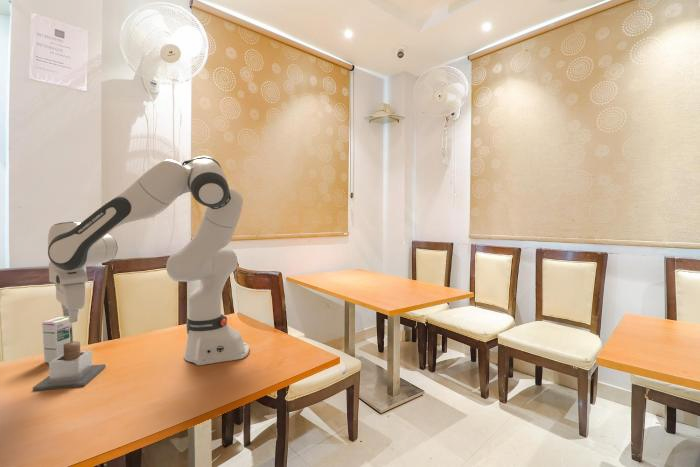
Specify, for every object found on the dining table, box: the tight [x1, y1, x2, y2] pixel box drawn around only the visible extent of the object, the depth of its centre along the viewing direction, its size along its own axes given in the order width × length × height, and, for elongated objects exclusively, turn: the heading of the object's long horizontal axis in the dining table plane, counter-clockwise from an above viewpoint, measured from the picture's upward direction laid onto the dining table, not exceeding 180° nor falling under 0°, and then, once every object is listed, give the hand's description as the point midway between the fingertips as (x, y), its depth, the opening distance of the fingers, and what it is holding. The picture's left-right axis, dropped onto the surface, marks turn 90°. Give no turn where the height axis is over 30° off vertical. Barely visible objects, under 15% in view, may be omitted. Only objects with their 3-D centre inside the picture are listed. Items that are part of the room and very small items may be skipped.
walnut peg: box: [63, 340, 81, 360], centre depth 106 cm, size 4×4×10 cm
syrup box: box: [41, 316, 74, 364], centre depth 119 cm, size 6×6×14 cm
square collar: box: [32, 350, 106, 392], centre depth 106 cm, size 13×13×7 cm
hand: (70, 318), depth 105 cm, fingers open, 8 cm apart
